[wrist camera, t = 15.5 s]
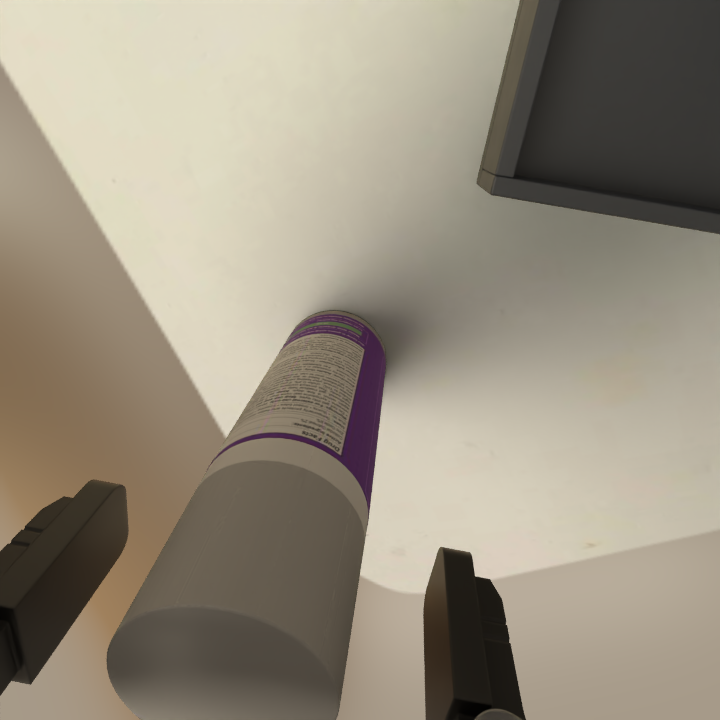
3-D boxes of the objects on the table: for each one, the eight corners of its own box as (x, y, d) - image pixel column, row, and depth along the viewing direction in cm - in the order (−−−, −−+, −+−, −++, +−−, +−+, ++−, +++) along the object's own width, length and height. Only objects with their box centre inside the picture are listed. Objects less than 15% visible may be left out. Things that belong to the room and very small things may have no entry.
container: (378, 409, 24) (333, 780, 10) (283, 394, 24) (109, 739, 10) (393, 318, 22) (362, 627, 8) (289, 302, 22) (84, 579, 8)
